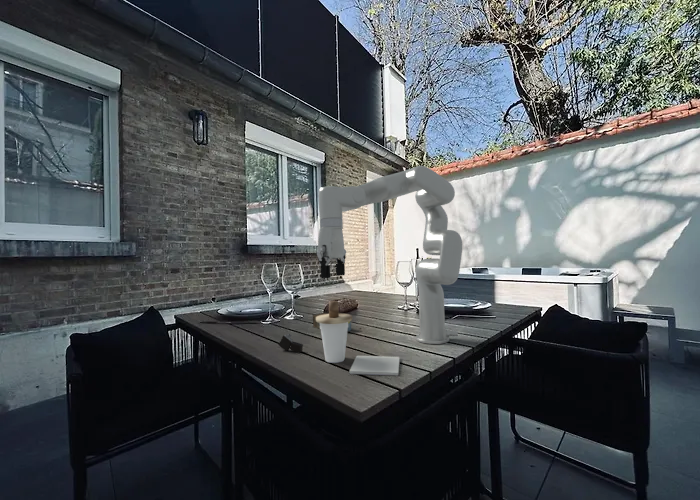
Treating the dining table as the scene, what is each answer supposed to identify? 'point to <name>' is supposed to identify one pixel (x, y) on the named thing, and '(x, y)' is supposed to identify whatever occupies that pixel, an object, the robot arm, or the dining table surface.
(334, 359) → the foam cup
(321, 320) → the lid
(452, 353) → the dining table surface
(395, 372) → the mat
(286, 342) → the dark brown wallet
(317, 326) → the beverage carton
